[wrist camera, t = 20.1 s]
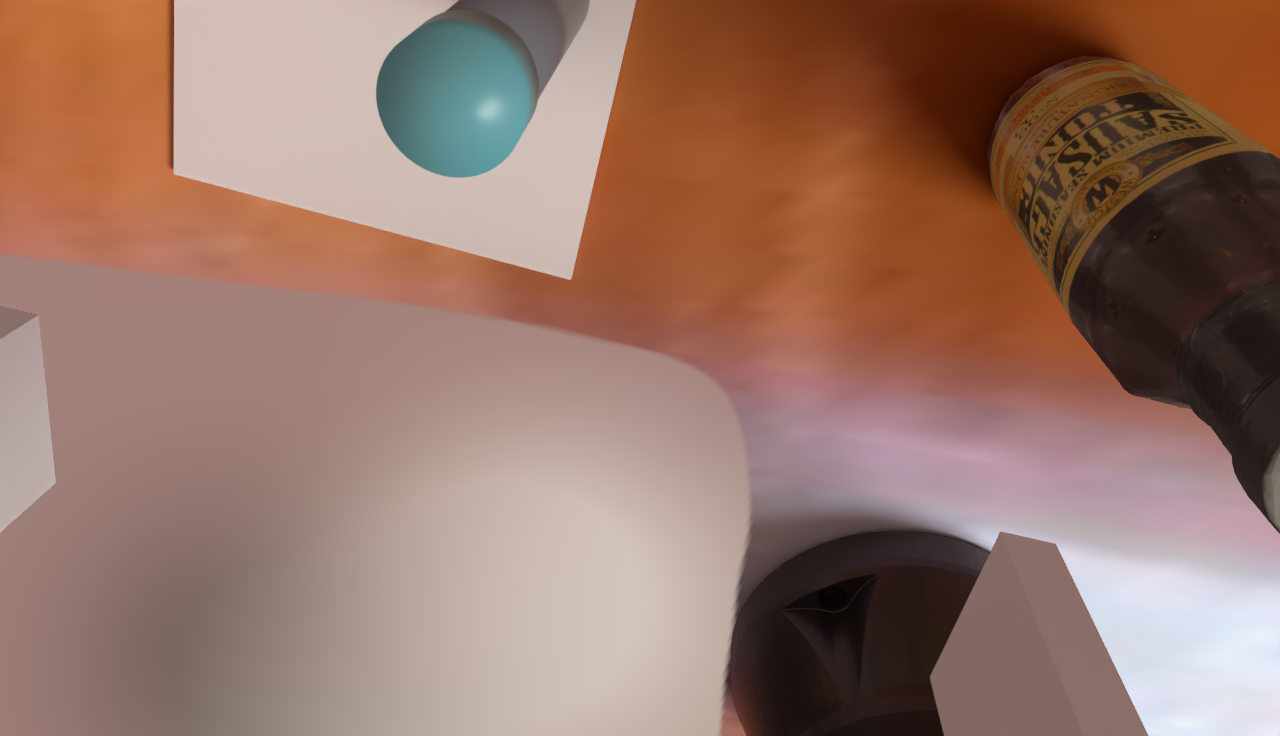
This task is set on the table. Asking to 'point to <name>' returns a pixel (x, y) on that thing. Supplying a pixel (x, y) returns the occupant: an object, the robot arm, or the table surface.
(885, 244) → the table surface
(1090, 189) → the sauce bottle
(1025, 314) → the table surface
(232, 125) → the paper
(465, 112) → the marker
